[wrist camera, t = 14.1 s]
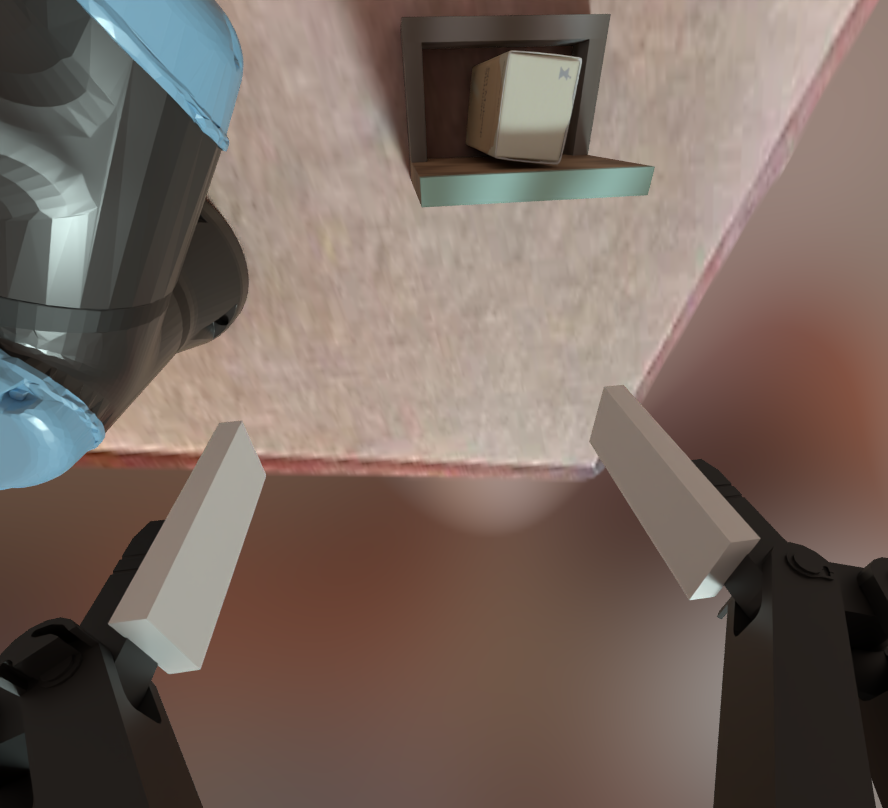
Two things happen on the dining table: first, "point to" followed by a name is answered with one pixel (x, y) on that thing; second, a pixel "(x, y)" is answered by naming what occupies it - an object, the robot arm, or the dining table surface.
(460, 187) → the cleat board
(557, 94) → the box
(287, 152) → the dining table surface
